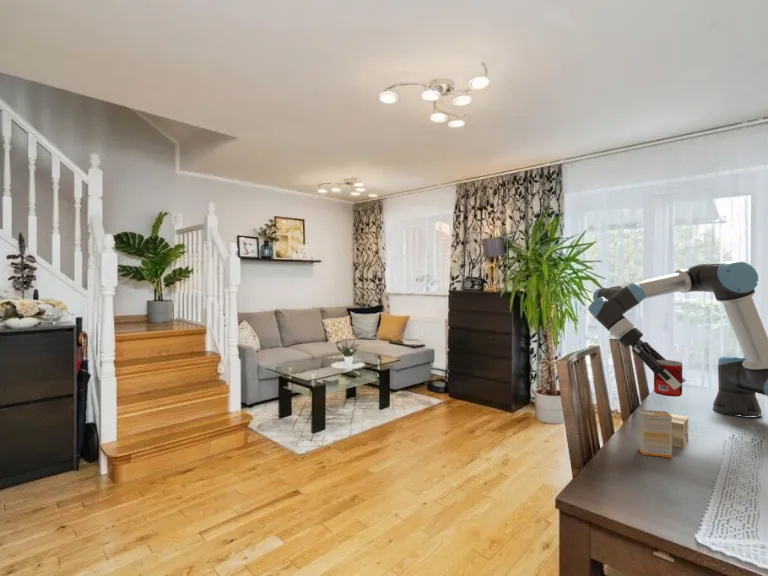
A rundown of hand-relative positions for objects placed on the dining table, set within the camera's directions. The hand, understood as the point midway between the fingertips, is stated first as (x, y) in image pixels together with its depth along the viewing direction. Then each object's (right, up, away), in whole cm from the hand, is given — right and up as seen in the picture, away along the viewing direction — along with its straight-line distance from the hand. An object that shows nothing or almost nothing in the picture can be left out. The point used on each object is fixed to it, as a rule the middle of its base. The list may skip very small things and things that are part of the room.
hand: (680, 385), depth 137 cm
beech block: (-3, -19, +2) cm, 20 cm away
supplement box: (-15, -20, -9) cm, 26 cm away
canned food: (-2, -4, +2) cm, 5 cm away
